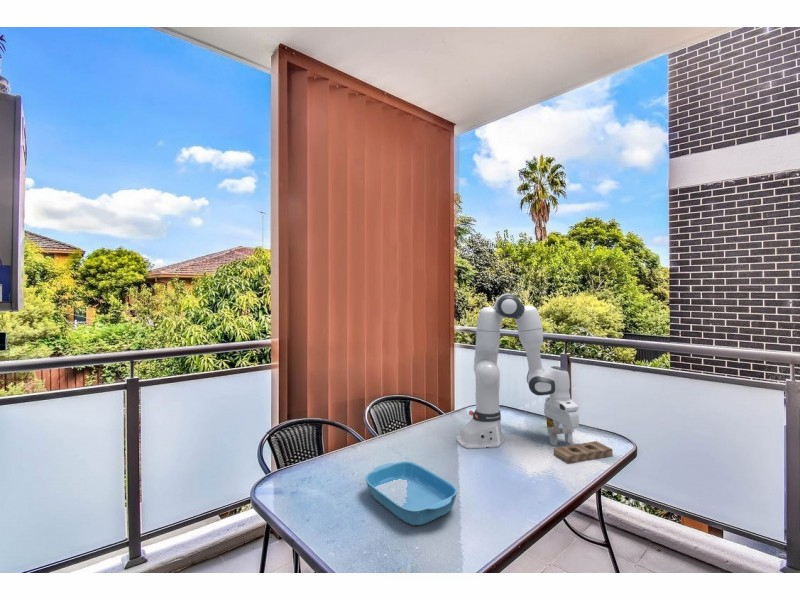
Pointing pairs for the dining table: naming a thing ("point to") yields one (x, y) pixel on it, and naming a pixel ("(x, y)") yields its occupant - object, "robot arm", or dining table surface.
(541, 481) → the dining table surface
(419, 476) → the casserole dish
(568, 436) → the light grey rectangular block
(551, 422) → the condiment
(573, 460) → the brown wooden block
